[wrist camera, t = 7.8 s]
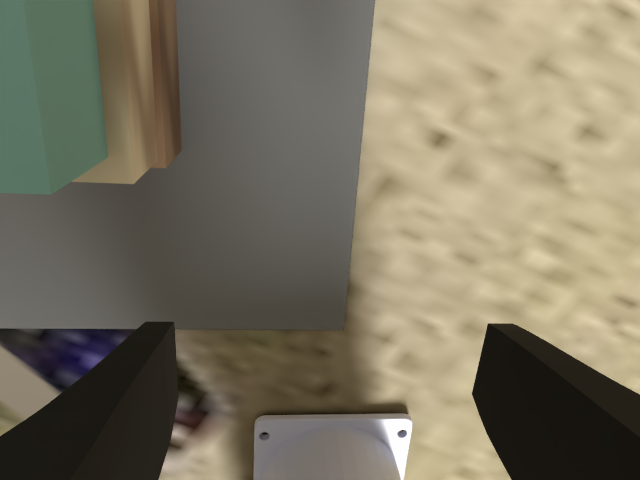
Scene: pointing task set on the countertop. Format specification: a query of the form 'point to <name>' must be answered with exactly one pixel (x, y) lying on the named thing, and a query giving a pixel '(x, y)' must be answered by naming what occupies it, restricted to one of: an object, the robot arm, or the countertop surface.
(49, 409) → the robot arm
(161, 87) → the tower base
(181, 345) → the countertop surface
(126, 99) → the tower mid
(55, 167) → the teal block
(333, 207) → the mat
